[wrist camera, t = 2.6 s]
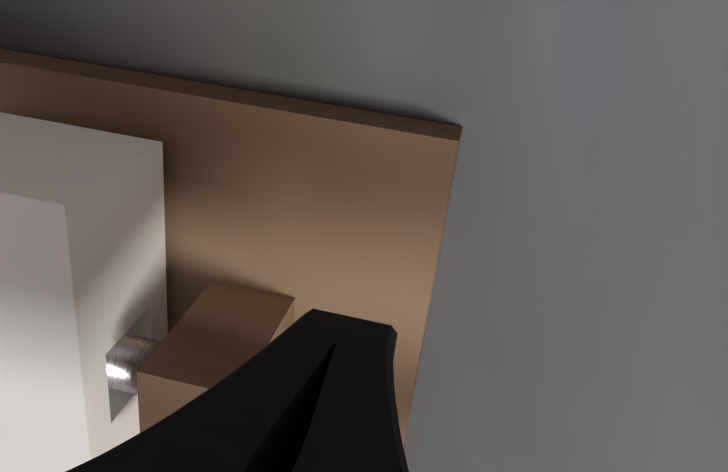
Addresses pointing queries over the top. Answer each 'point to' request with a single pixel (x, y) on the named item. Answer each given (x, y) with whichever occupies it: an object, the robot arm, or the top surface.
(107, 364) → the guide rod
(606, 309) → the top surface
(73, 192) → the sleeve
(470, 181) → the top surface
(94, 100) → the guide board
